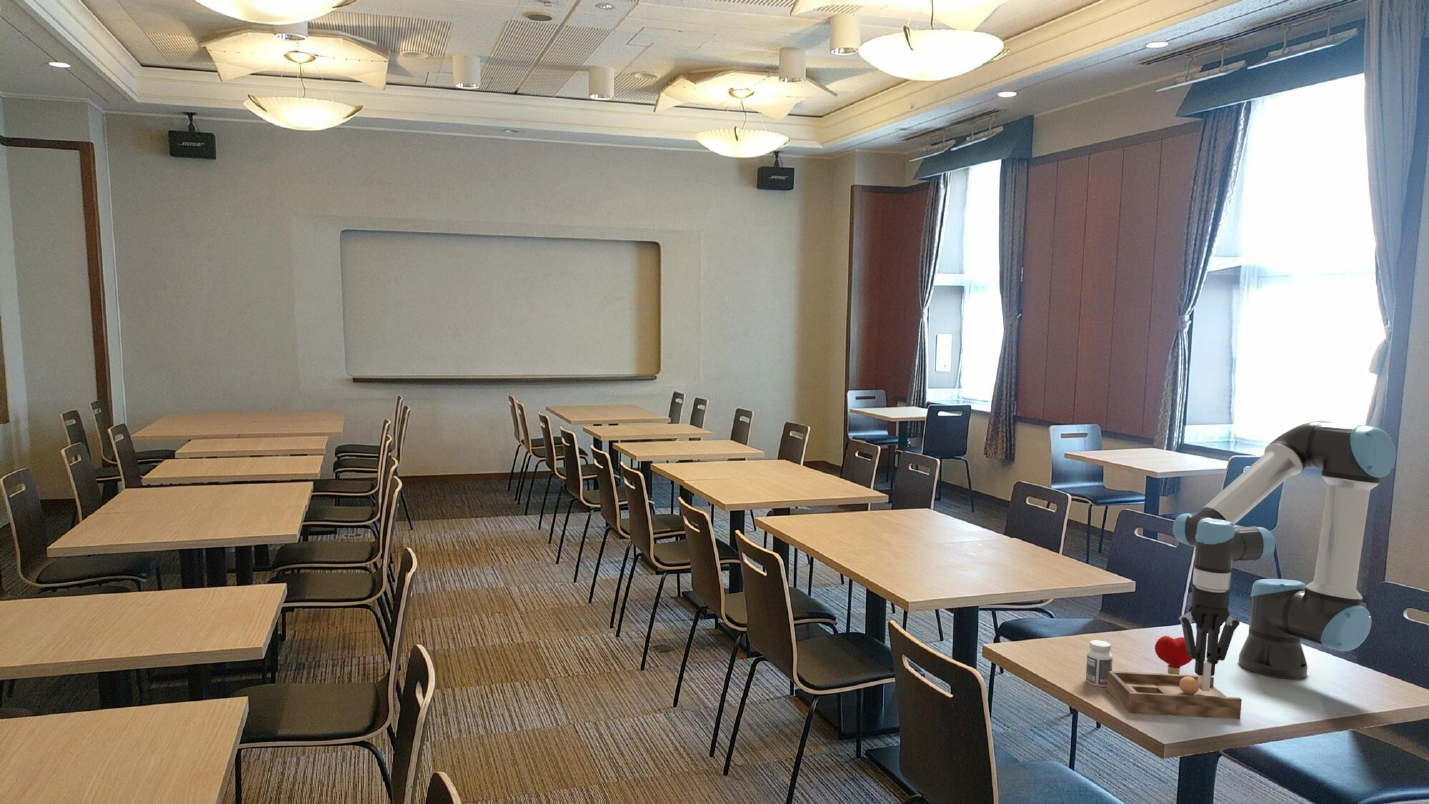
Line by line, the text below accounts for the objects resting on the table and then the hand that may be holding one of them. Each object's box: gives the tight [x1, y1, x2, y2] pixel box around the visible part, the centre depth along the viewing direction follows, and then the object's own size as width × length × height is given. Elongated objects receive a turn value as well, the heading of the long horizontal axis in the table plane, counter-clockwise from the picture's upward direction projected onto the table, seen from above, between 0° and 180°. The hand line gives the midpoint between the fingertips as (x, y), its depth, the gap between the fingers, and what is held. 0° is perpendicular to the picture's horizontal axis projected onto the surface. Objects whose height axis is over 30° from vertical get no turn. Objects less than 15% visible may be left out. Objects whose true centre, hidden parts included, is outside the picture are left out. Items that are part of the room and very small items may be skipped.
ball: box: [1179, 677, 1199, 695], centre depth 212 cm, size 4×4×4 cm
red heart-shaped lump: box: [1154, 635, 1194, 675], centre depth 230 cm, size 9×7×10 cm
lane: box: [1106, 670, 1242, 720], centre depth 213 cm, size 24×14×4 cm, turn 86°
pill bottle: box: [1085, 639, 1113, 688], centre depth 224 cm, size 6×6×10 cm
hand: (1203, 688), depth 212 cm, fingers closed
